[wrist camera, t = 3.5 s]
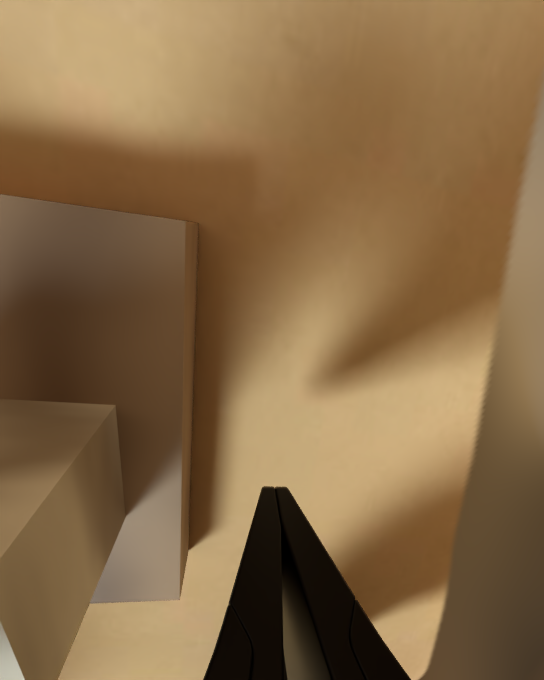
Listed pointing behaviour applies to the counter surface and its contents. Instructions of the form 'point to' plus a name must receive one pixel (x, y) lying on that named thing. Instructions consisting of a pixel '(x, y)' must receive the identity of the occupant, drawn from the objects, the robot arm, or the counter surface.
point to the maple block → (53, 526)
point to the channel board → (111, 360)
